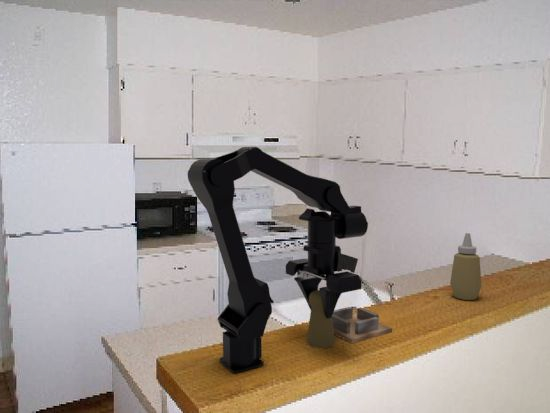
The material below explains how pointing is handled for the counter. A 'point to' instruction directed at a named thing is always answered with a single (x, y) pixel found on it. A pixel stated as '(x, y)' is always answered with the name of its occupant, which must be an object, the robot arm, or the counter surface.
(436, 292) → the counter surface
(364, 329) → the clip holder
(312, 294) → the cork
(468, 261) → the squeeze bottle
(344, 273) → the robot arm
